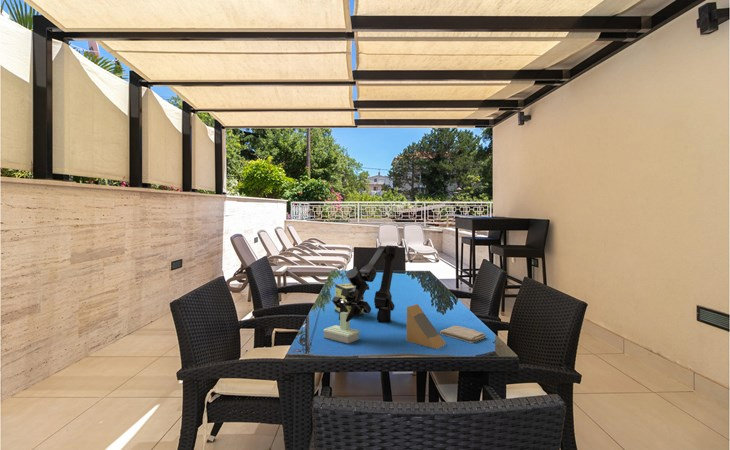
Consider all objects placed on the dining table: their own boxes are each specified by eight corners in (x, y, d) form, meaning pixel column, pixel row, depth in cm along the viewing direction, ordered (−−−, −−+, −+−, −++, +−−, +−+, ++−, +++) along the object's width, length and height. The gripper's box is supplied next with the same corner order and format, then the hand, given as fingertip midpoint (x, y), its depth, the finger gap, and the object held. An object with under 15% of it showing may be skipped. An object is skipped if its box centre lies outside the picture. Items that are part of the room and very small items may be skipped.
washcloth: (473, 344, 165) (473, 337, 165) (438, 335, 178) (438, 328, 178) (487, 339, 173) (487, 332, 173) (452, 330, 186) (452, 323, 186)
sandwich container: (436, 349, 157) (437, 313, 157) (405, 341, 167) (406, 306, 167) (447, 344, 164) (448, 309, 163) (417, 336, 174) (417, 303, 173)
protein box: (346, 317, 203) (347, 288, 203) (334, 311, 217) (334, 283, 217) (364, 315, 209) (364, 287, 208) (350, 309, 222) (351, 282, 222)
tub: (335, 333, 176) (335, 326, 176) (358, 339, 168) (358, 332, 168) (324, 337, 169) (324, 331, 169) (347, 343, 162) (347, 336, 162)
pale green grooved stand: (335, 326, 176) (335, 309, 176) (359, 332, 168) (359, 314, 168) (323, 331, 169) (323, 313, 169) (347, 336, 161) (348, 318, 161)
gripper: (334, 279, 179) (318, 307, 170) (368, 283, 168) (352, 313, 159) (344, 293, 185) (329, 321, 177) (377, 298, 175) (363, 328, 166)
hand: (342, 320), depth 169 cm, fingers closed on pale green grooved stand, 3 cm apart
